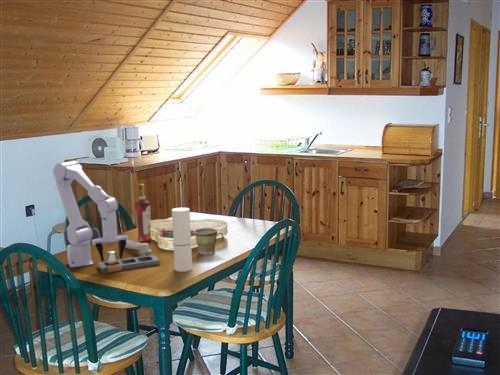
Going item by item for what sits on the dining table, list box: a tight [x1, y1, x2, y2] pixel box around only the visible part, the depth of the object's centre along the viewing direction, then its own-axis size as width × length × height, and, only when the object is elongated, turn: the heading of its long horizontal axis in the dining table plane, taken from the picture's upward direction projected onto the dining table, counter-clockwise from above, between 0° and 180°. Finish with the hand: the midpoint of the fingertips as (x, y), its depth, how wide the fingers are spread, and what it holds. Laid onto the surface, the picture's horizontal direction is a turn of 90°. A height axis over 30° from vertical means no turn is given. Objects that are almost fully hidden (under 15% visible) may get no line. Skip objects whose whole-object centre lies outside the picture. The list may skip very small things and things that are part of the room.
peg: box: [106, 250, 118, 266], centre depth 257 cm, size 4×4×7 cm
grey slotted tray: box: [97, 254, 161, 274], centre depth 260 cm, size 24×9×2 cm, turn 114°
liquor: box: [134, 183, 153, 244], centre depth 296 cm, size 7×7×28 cm
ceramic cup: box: [194, 227, 224, 255], centre depth 276 cm, size 13×10×10 cm
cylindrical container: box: [171, 207, 193, 273], centre depth 252 cm, size 7×7×25 cm
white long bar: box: [124, 238, 152, 257], centre depth 281 cm, size 5×7×25 cm
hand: (111, 259), depth 257 cm, fingers open, 7 cm apart
